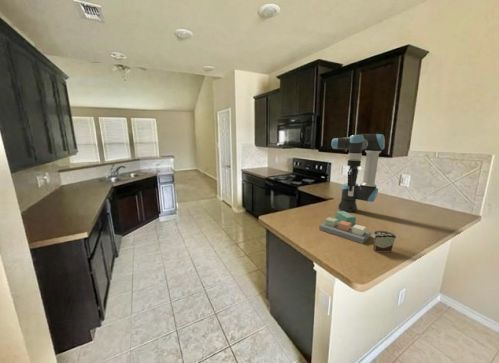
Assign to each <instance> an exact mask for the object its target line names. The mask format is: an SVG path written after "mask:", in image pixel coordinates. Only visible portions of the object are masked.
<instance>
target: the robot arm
mask: <svg viewBox="0 0 499 363" xmlns="http://www.w3.org/2000/svg"><path fill="white" fill-rule="evenodd" d="M330 145H331V148H332V149H333V150H348V154H347V156H348V158H347V159H348V160H347V164H346V165H347V166H348V167H349V169H348V171H347V183H343V185H342V188H341V199H340V201H339V204H338V207H337V208H338V210H339V211H345V212H347V213H356V212H358V205H357V200H358V201H359V200H360V201H364V202H367V203H368V202H370V203H373V202H375V201H376V199H377V197H378V193H379V188H378V187H377V184H376V177H377V170H378V162H379V155H380V154H381V153H382V152H383V151H382V150H384V149H385V146H386V141H385V135H384V134H383V133H381V134H380V133H360V134H352V135H350V136H348V137H334V138H332V140H331V144H330ZM363 150H364V152H365V153H366V154H365V155H366V156H365V164H364V171H363V176H362V178H363V179H362V182H361V183H360V185H358V183H357V180H358V174H359V170H358V167H361V163H362V161H361V160H362V155H363Z"/></svg>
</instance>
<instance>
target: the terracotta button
mask: <svg viewBox="0 0 499 363" xmlns="http://www.w3.org/2000/svg"><path fill="white" fill-rule="evenodd" d="M338 229H341V230H344V231H348V230H350V229H351V223H349V222H346V221H341V222H339V223H338Z"/></svg>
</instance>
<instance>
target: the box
mask: <svg viewBox="0 0 499 363" xmlns="http://www.w3.org/2000/svg"><path fill="white" fill-rule="evenodd" d="M334 218H335V219H338V223H339V222H341V221H346V222H349V223H351V227H353V226H355V225H356V222H357V221H356V220H357V217H356V216H354V215H352V214H350V212H345V211H342V210H339V211H338V210H337V211H335V214H334Z"/></svg>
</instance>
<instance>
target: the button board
mask: <svg viewBox="0 0 499 363" xmlns="http://www.w3.org/2000/svg"><path fill="white" fill-rule="evenodd" d="M318 228H319V231H322V232H326V233H328V234H331V235H334V236H337V237H341V238H343V239H347V240H349V241H352V242H355V243H360V244H362V245H363V244H364V243H365V242H366V241H368V239H369V238H370V237H371V233H372V232H371V231H369V230H366V231H365V234H364V235H363V236H360V235H357V234H354V233H352V228H353V227H351V229H350V230H348V231H344V230H341V229H338V223H337V225H336V226H335V227H331V226H327V225H325V222H323V223H321V224H319V227H318Z"/></svg>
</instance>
